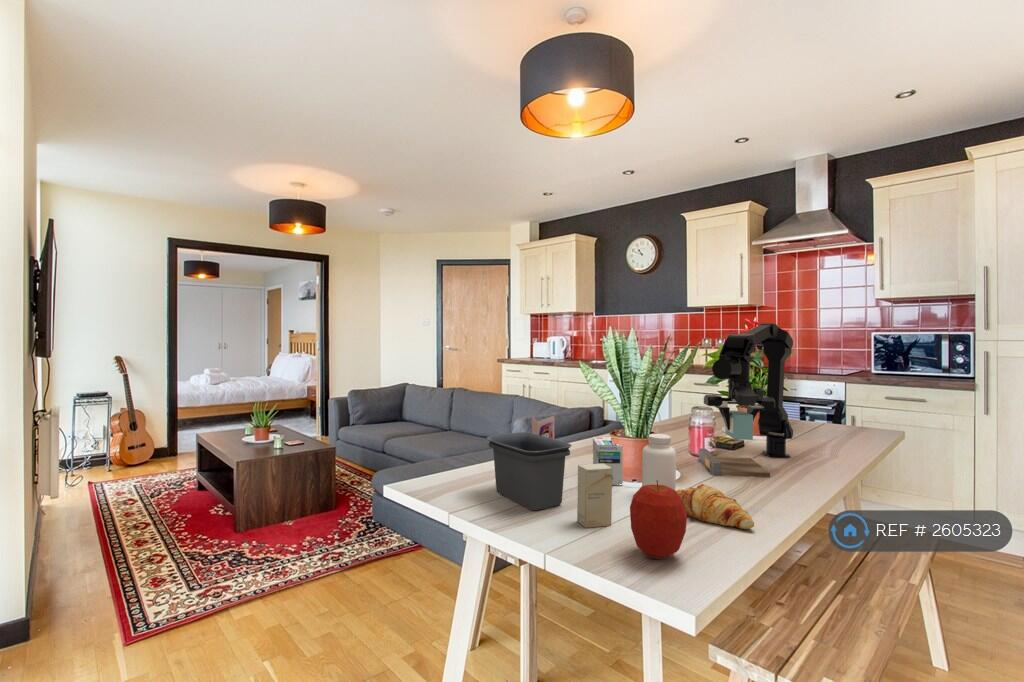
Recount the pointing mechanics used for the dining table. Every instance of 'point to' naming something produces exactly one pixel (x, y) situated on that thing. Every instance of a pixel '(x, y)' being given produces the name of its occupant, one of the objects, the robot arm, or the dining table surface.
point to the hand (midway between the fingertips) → (738, 430)
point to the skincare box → (594, 495)
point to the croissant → (714, 507)
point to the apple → (658, 520)
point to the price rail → (710, 461)
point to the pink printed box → (543, 427)
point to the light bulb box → (609, 457)
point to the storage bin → (529, 468)
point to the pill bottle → (659, 462)
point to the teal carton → (740, 425)
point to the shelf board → (741, 467)
